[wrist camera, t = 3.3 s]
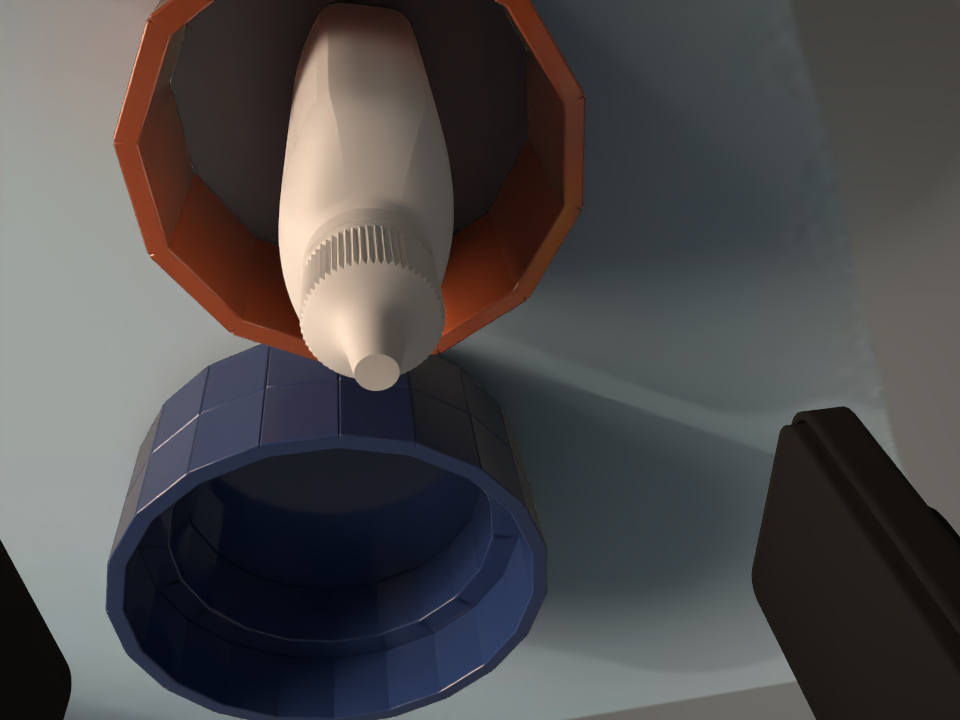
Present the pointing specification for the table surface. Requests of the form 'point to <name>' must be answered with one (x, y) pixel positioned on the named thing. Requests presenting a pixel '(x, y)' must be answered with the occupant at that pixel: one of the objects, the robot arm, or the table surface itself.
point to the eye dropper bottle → (365, 197)
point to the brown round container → (256, 263)
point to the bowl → (325, 541)
